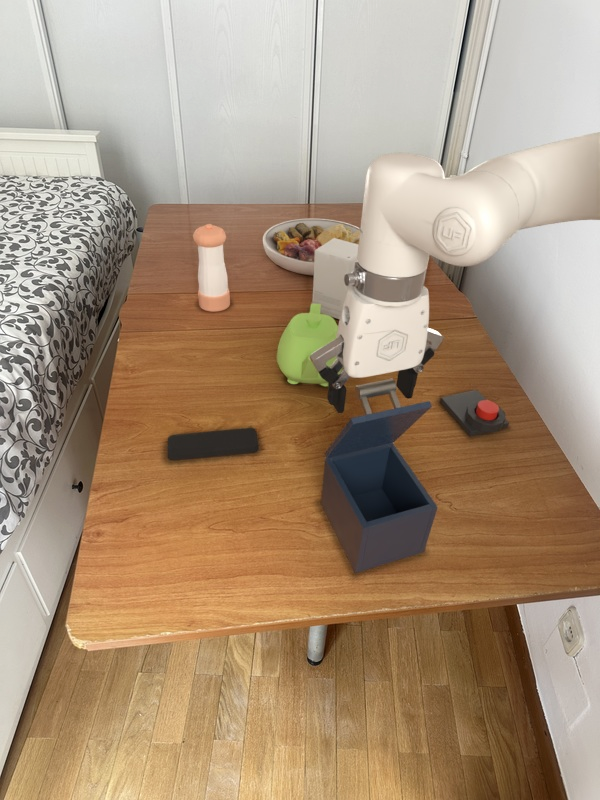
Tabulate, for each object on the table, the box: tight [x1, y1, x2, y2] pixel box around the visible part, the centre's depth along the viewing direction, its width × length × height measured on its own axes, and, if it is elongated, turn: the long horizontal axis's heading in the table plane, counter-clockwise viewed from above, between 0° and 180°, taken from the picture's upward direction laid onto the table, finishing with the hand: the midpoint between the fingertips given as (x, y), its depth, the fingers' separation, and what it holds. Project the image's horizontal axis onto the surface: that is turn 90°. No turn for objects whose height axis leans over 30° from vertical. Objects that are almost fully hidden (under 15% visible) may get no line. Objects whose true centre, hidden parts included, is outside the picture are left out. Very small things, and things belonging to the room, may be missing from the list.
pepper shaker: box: [192, 223, 231, 312], centre depth 120 cm, size 7×7×19 cm
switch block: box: [439, 389, 510, 437], centre depth 97 cm, size 11×8×3 cm
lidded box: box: [320, 442, 439, 574], centre depth 75 cm, size 13×11×10 cm
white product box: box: [311, 238, 359, 320], centre depth 122 cm, size 9×9×15 cm
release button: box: [476, 399, 500, 421], centre depth 94 cm, size 4×4×2 cm
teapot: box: [276, 302, 344, 387], centre depth 103 cm, size 20×13×13 cm
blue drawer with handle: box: [324, 378, 433, 458], centre depth 71 cm, size 13×11×5 cm
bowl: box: [262, 217, 360, 277], centre depth 146 cm, size 30×30×8 cm
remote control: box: [166, 427, 260, 462], centre depth 89 cm, size 5×2×15 cm
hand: (370, 399), depth 70 cm, fingers open, 9 cm apart
